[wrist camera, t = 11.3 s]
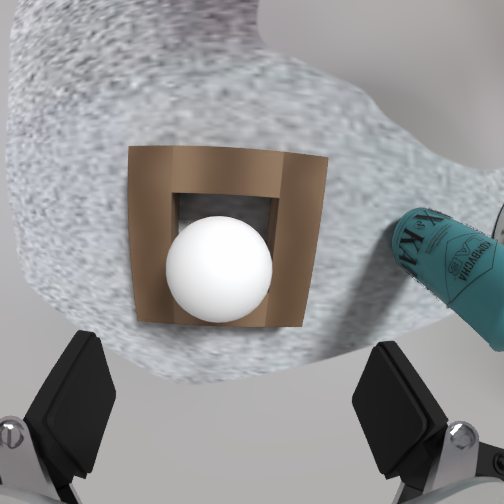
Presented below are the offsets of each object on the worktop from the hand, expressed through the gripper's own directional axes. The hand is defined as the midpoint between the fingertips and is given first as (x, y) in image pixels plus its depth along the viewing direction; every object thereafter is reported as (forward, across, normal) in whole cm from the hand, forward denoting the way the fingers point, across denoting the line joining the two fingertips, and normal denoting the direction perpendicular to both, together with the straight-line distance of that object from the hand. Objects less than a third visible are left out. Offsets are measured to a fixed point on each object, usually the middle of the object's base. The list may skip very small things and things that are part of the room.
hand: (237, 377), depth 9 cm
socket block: (+16, +1, 0) cm, 16 cm away
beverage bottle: (+17, -17, -1) cm, 24 cm away
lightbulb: (+16, +1, 0) cm, 17 cm away
